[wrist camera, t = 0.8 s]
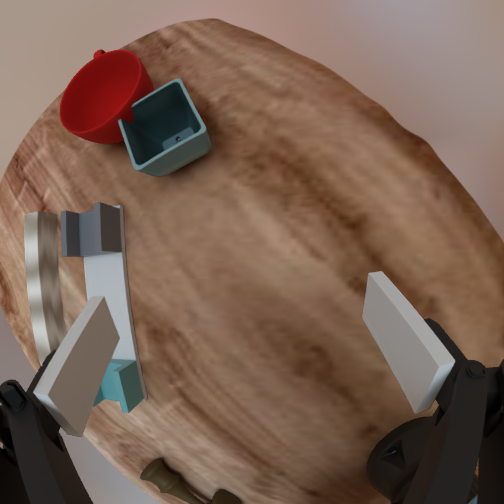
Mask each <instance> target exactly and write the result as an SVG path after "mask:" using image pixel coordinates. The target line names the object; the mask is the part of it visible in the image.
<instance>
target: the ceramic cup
mask: <svg viewBox="0 0 504 504" xmlns="http://www.w3.org/2000/svg"><path fill="white" fill-rule="evenodd" d="M152 92H153V85H152V82H151V79H150V77H149V75H148V73H147V71H146V69H145V67H144V65H143V64H142V62H141V61H140V59H139V58H138V57H137V56H136V55H135V54H134V53H132V52H130V51H126V50H114V51H110V52H107V53H106V52H105V51H103V50H98V51H97V52H95V54H94V59H93V60H91V61H90V62H89V63H87V64H86V65H85V66H84V67H83V68H82V69H80V71H79V72H78V73H77V74H76V75H75V76H74V77H73V79H72V80H71V82H70V83H69V85H68V86H67V88H66V90H65V92H64V95H63V97H62V100H61V104H60V119H61V122H62V124H63V126H64V127H65V128H66V129H67V130H68V131H69V132H71V133H73V134H75V135H77V136H78V137H81V138H83V139H85V140H88V141H91V142H96V143H101V144H112V143H117V142H121V141H124V138H123V135H122V132H121V129H120V126H119V123H118V120H120V119H122V120H124V121H126V122H129V123H133V121H134V116H133V111H132V109H131V107H132V105H133V104H134V103H135V102H137V101H139V100H140V99H142V98H144V97H145V96H147V95H148V94H150V93H152Z"/></svg>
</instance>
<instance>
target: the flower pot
mask: <svg viewBox="0 0 504 504" xmlns="http://www.w3.org/2000/svg"><path fill="white" fill-rule="evenodd" d="M131 109H132V111H133V116H134V121H133V123H129V122H126V121H124V120H122V119H120V120H118V123H119V126H120V129H121V132H122V135H123V138H124V141H125V144H126V147H127V150H128V153H129V155H130V158H131V161H132V164H133V167H134V169H135V170H137V171H140V172H143V173H146V174H149V175H152V176H157V177H161V176H165V175H168V174H170V173H172V172H174V171H176V170H178V169H180V168H181V167H183V166H185V165H187V164H188V163H190V162H192V161H194V160H196V159H198V158H199V157H201V156H203V155H205V154H206V153H208V152H209V150H210V148H211V141H210V138H209V135H208V132H207V129H206V126H205V124H204V123H203V121H202V119H201V117H200V115H199V114H198V112H197V110H196V108H195V106H194V104H193V102H192V100H191V98H190V97H189V95H188V93H187V91H186V89H185V86H184V84H183V82H182V80H181V79H179V78H176V79H174V80H172V81H170V82H169V83H167V84H165V85H164V86H162V87H160V88H158V89H157V90H155V91H153V92H152V93H150V94H148V95H147V96H145V97H144V98H142V99H140V100H139V101H137V102H135V103H134V104H133V105H132V107H131ZM178 137H179V138H180V140H178V141H177V138H178Z"/></svg>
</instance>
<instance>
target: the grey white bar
mask: <svg viewBox="0 0 504 504" xmlns="http://www.w3.org/2000/svg"><path fill="white" fill-rule="evenodd" d="M24 236H25V265H26V279H27V290H28V299H29V306H30V314H31V320H32V326H33V332H34V337H35V342H36V347H37V352H38V356H39V361H40V365H41V366H42V363H43V362H44V360H45V358H46V357H47V356H48V355H49V354H50V353H51V352H52V351H53V350H54V349H55V350H57V349H58V348H59V346H60V344H61V343H62V341H63V339H64V338H65V336H66V335H67V334H66V328H65V322H64V316H63V309H62V301H61V293H60V283H59V272H58V256H57V215H55V214H50V213H45V212H40V211H36V212H33V213H30V214H26V215H25V226H24Z"/></svg>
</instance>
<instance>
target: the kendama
mask: <svg viewBox="0 0 504 504" xmlns="http://www.w3.org/2000/svg"><path fill="white" fill-rule="evenodd" d="M140 479H142V480H148V481H150V482H152V483H154V484H155V485H156V486H157V487H158V488H159V489H160V492H161V493H169V494H171V495H174V496H176V497H178V498H180V499H182V500H184V501H186V502H188V503H190V504H204V503H203V502H202V501H201V500H199V499H198V498H197V497H196V496H194V495H193V494H192V493H191V492H190V491H189V490H188V489H187V488H186V487H185V486H184V485H183V484H182V483H181V482H180V479H179V476H178V475H174V474H172V473H170V472H169V471H168V470H167V469H166V468H165V467H164V465H163V462H162V460H161V459H157V460H154V461H153V462H151V463H150V464H149V465H148V466H147V467H146V468H145V469H144V470H143V472H142V473H141V476H140ZM212 504H242V503H241V502H240V500H239V499H238V498H237V497H236V496H235V495H233V494H232V493H230V492H228V491H224V490H220V491H218V492H216V493H215V494H214V496H213V499H212Z"/></svg>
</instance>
